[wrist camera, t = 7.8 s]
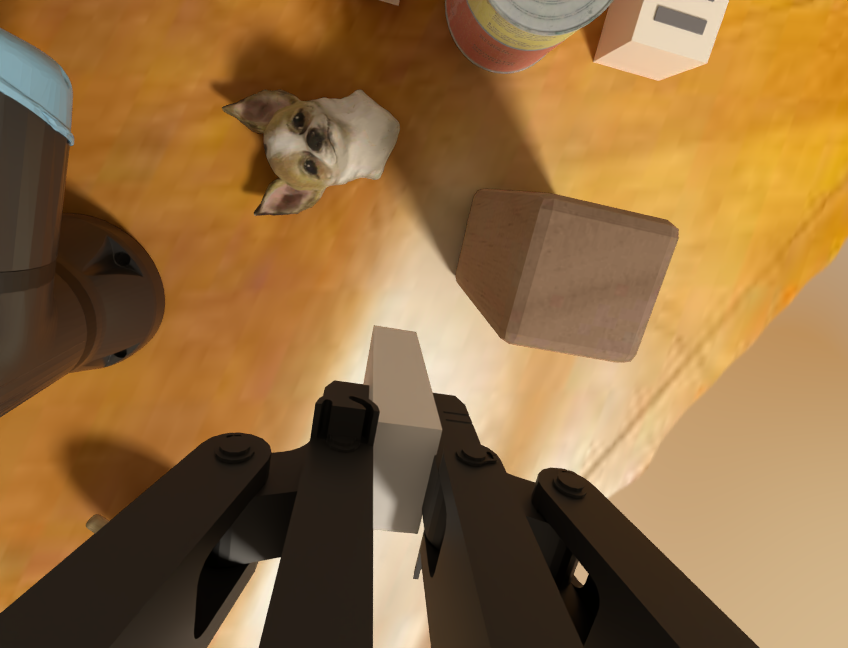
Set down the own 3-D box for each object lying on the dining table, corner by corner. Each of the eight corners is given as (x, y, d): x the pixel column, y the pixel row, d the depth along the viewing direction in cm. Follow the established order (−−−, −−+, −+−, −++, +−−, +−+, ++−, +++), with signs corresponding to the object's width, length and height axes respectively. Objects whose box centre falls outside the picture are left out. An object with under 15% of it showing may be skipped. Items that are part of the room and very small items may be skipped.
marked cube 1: (592, 62, 43) (632, 40, 37) (616, -22, 42) (663, -62, 35) (658, 80, 45) (708, 62, 38) (684, 0, 43) (742, -35, 36)
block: (473, 186, 46) (541, 190, 27) (565, 207, 47) (691, 224, 28) (451, 281, 49) (499, 346, 30) (539, 298, 50) (637, 370, 31)
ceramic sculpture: (412, 191, 37) (234, 228, 37) (411, 189, 45) (265, 219, 46) (384, 45, 34) (189, 86, 34) (389, 72, 42) (231, 105, 42)
